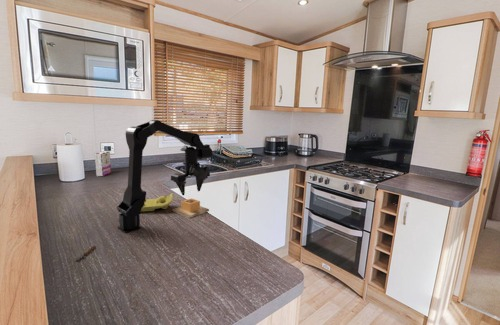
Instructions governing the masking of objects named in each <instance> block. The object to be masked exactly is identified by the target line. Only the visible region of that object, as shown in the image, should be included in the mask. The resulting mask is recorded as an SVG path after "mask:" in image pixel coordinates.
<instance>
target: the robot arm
mask: <svg viewBox="0 0 500 325" xmlns="http://www.w3.org/2000/svg"><path fill="white" fill-rule="evenodd" d="M156 132H158V133H160V134H164V135H167V136H169V137H172V138H175V139H177V140H178V141H179V142H181V143H182V144H184V145H183V146H182V148H181V149H180V151H181V152H184V162H182V164H183V165H184V170H183V172H182V173H180V172H177V173H172V174H171V175H170V181H173V182H174V183H175V184H176V185H177V187H178V189H179V191H180V193H181V195H182V196H185V193H186V192H185V191H186V189H185V188H186V186H185V185H186V184H187V179H190V178H194V177H195V182H196V189H197V192H200V191H201V189H202V186H203V183H204V181H206V180H207V179H208V178H209V177H210V176H211V173H210V167H208V166H203V167H201V164H200V162H198V161H199V160H209V159H211V158H212V157H213V152H214V151H213V150H212V148H211V147H210V144H204V143H203V142H202V140H201V137H200V135H199V134H198V133H195V132H189V131H186V130H185V131H184V130H182V129H179V128H177V127H174V126H173V125H169V124H167V123H164V122H162V121H161V120H158V119H152V120H149V121H147V122H144V123H142V124H139V125H136V126H130V127H128V128H126V130H125V142H126V144H127V147H128V150H129V151H128V156H129V157H128V172H127V173H128V175H127V178H128V179H127V187H126V189H125V190H124V192H123V197H122V200H121V202H120V203H119V204H118V206H116V210H117V212H118V213H119V214H118V218H119V220H118V221H119V226H117V229H119V230H120V231H122V232H123V233H130V232H133V231H135V230H139V229H141V228H142V226H141V219H140V218H141V216H140V215H141V213H142V212H141V209H142V207H143V206H144V203H145V202H146V200H147V199H146V198H147V191H145V190H143V189H142V171H143V169H142V168H143V151H144V149H145V147H146V145H147V141H148V138H149V137H152V136H154V134H155V133H156Z"/></svg>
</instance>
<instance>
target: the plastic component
mask: <svg viewBox="0 0 500 325" xmlns="http://www.w3.org/2000/svg"><path fill="white" fill-rule="evenodd" d="M173 198H174V193H173V192H172V193H170V195H161V196H158V197H157V198H150V199H149V198H148V199H146V202H145V203H144V206H143V207H142V209H141V212H140V213H143V212H154V211H156V209H162V210H166V209H168V206H169V205H170V204H171V203H172V201H173Z"/></svg>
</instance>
